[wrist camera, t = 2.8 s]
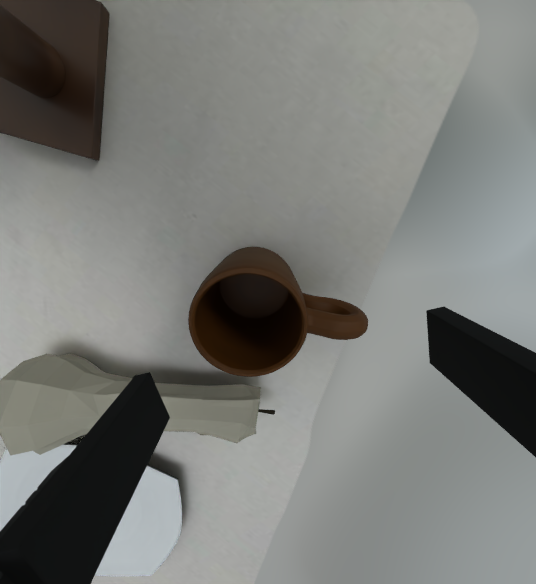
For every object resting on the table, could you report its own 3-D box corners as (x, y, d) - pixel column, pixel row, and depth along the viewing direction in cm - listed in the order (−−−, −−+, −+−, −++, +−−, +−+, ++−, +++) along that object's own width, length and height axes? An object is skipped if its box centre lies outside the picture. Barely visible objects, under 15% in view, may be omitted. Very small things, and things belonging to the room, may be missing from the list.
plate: (203, 455, 30) (199, 471, 29) (169, 569, 37) (164, 588, 35) (4, 412, 28) (-15, 426, 26) (5, 540, 35) (-9, 559, 33)
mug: (345, 252, 23) (395, 277, 14) (331, 327, 25) (368, 388, 16) (216, 241, 23) (184, 258, 14) (214, 317, 25) (185, 375, 16)
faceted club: (26, 328, 24) (279, 351, 26) (54, 383, 29) (268, 399, 31) (-78, 416, 17) (286, 438, 19) (-18, 471, 21) (269, 483, 24)
